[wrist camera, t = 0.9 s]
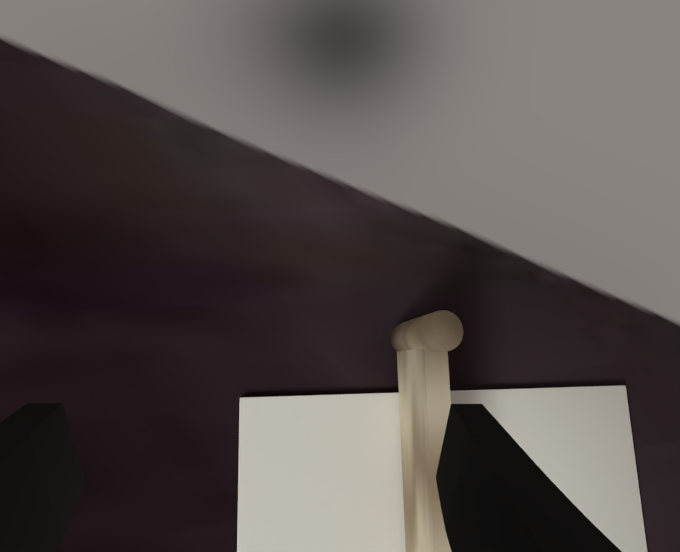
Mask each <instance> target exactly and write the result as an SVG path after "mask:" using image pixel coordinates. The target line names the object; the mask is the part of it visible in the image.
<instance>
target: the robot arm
mask: <svg viewBox="0 0 680 552" xmlns="http://www.w3.org/2000/svg"><path fill="white" fill-rule="evenodd" d="M84 481H85V480H84V477H83V473H82V470H81V466H80V463H79V460H78V456H77V453H76V449H75V446H74V442H73V439H72V435H71V432H70V428H69V425H68V422H67V418H66V415H65V411H64V408H63V404H62V403H27V404H26V405H24V406H23V407H22V408H20V409H19V410H17V411H16V412H15V413H13V414H12V415H10V416H9V417H8V418H6V419H5V420H4V421H2V422H1V423H0V552H58V551H59V549H60V546H61V544H62V542H63V540H64V538H65V535H66V532H67V530H68V527H69V524H70V522H71V519H72V516H73V514H74V511H75V508H76V505H77V502H78V499H79V496H80V493H81V490H82V487H83V484H84ZM436 482H437V488H438V494H439V499H440V505H441V510H442V515H443V520H444V526H445V531H446V534H447V538H448V541H449V545H450V548H451V551H452V552H622V551H621V550H620V549H619V548H618V547H616V546H615V545H614V544H613V543H612V542H611V541H610V540H609V539H608V538H607V537H606V536H605V535H604V534H603V533H602V532H601V531H600V530H599V529H598V528H597V527H596V526H595V525H594V524H593V523H592V522H591V521H590V520H589V519H588V518H587V517H586V516H585V515H584V514H583V513H582V512H581V511H580V510H579V509H578V508H577V507H576V506H575V505H574V504H573V503H572V502H571V501H570V500H569V499H568V498H567V497H566V496H565V494H564V493H563V492H562V491H561V490H560V489H559V488H558V487H557V486H556V485H555V484H554V483H553V482H552V481H551V480H550V479H549V478H548V477H547V476H546V474H545V473H544V472H543V471H542V470H541V469H540V468H539V467H538V466H537V465H536V464H535V462H534V461H533V460H532V459H531V458H530V457H529V456H528V455H527V454H526V452H525V451H524V450H523V449H522V448H521V447H520V446H519V445H518V444H517V442H516V441H515V440H514V439H513V438H512V437H511V436H510V435H509V433H508V432H507V431H506V430H505V429H504V428H503V427H502V426H501V424H500V423H499V422H498V421H497V420H496V419H495V418H494V417H493V415H492V414H491V413H490V412H489V411H488V410H487V409H486V408H485V407H484V405H483V404H451V406H450V411H449V416H448V420H447V425H446V430H445V435H444V440H443V444H442V449H441V454H440V459H439V463H438V468H437V473H436Z"/></svg>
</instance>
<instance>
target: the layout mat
mask: <svg viewBox="0 0 680 552" xmlns="http://www.w3.org/2000/svg"><path fill="white" fill-rule="evenodd" d="M450 396H451V404H483V405H484V407H485V408H486V409H487V410H488V411H489V412H490V413H491V414H492V415H493V417H494V418H495V419H496V420H497V421H498V422H499V423H500V424H501V426H502V427H503V428H504V429H505V430H506V431H507V432H508V433H509V435H510V436H511V437H512V438H513V439H514V440H515V441H516V442H517V444H518V445H519V446H520V447H521V448H522V449H523V450H524V451H525V452H526V454H527V455H528V456H529V457H530V458H531V459H532V460H533V461H534V462H535V464H536V465H537V466H538V467H539V468H540V469H541V470H542V471H543V472H544V473H545V474H546V476H547V477H548V478H549V479H550V480H551V481H552V482H553V483H554V484H555V485H556V486H557V487H558V488H559V489H560V490H561V491H562V492H563V493H564V494H565V496H566V497H567V498H568V499H569V500H570V501H571V502H572V503H573V504H574V505H575V506H576V507H577V508H578V509H579V510H580V511H581V512H582V513H583V514H584V515H585V516H586V517H587V518H588V519H589V520H590V521H591V522H592V523H593V524H594V525H595V526H596V527H597V528H598V529H599V530H600V531H601V532H602V533H603V534H604V535H605V536H606V537H607V538H608V539H609V540H610V541H611V542H612V543H613V544H614V545H615V546H616V547H618V548H619V549H620V550H621V551H622V552H647V545H646V538H645V530H644V522H643V515H642V507H641V499H640V492H639V484H638V477H637V469H636V461H635V454H634V446H633V438H632V431H631V423H630V415H629V408H628V400H627V393H626V386H623V385H616V386H584V387H552V388H521V389H489V390H457V391H450ZM237 552H406V547H405V524H404V501H403V478H402V455H401V433H400V410H399V392H393V393H362V394H330V395H298V396H266V397H240V413H239V471H238V530H237Z"/></svg>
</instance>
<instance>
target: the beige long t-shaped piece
mask: <svg viewBox="0 0 680 552" xmlns="http://www.w3.org/2000/svg"><path fill="white" fill-rule="evenodd" d="M462 338H463V326H462V323H461V321H460V320H459V318H458V317H457V316H456V315H455V314H453V313H452V312H449V311H446V310H440V311H436V312H433V313H430V314H427V315H424V316H421V317H418V318H415V319H412V320H409V321H406V322H403V323H400V324H398V325H396V326H395V327H394V329H393V330H392V332H391V337H390V339H391V344H392V346H393V348H394V349H395V350H396V351H397V364H398V387H399V410H400V433H401V455H402V478H403V501H404V524H405V547H406V552H452V551H451V548H450V545H449V541H448V538H447V534H446V531H445V526H444V520H443V515H442V510H441V505H440V499H439V494H438V488H437V482H436V473H437V468H438V463H439V459H440V454H441V449H442V444H443V440H444V435H445V430H446V425H447V420H448V416H449V411H450V406H451V396H450V380H449V365H448V351H450V350H453V349H455V348H456V347H457V346H458V345H459V344H460V342H461V340H462Z"/></svg>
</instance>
